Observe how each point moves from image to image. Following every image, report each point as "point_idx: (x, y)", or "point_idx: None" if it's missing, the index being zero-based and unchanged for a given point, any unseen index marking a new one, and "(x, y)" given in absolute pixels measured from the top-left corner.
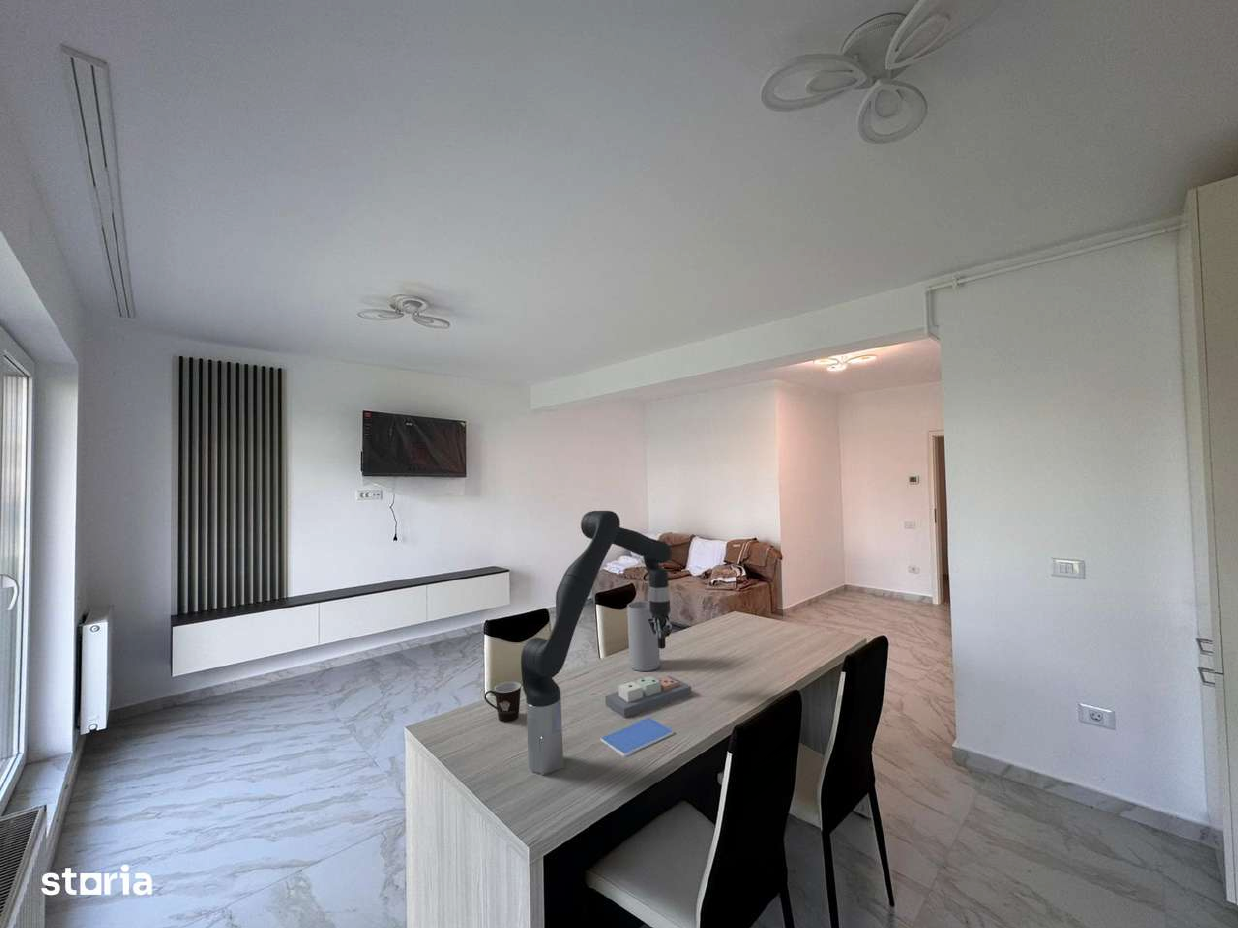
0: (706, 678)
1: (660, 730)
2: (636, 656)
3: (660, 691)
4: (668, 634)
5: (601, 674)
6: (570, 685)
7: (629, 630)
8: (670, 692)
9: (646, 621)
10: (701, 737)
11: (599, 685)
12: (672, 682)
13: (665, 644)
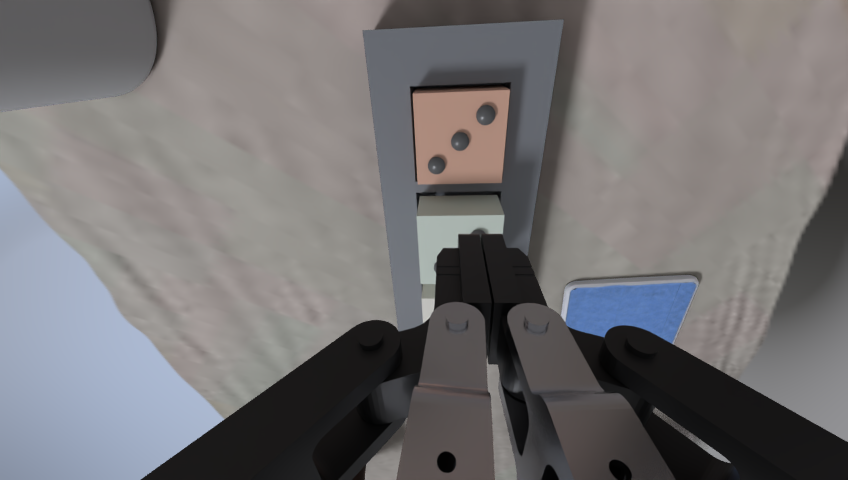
0: None
1: (657, 304)
2: (69, 95)
3: (497, 196)
4: (681, 376)
5: (152, 231)
6: (224, 333)
7: None
8: (534, 165)
9: None
10: (795, 232)
11: (255, 278)
12: (493, 117)
13: (528, 261)
